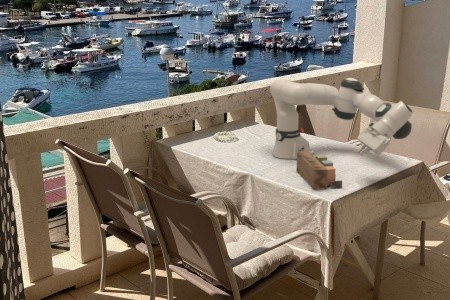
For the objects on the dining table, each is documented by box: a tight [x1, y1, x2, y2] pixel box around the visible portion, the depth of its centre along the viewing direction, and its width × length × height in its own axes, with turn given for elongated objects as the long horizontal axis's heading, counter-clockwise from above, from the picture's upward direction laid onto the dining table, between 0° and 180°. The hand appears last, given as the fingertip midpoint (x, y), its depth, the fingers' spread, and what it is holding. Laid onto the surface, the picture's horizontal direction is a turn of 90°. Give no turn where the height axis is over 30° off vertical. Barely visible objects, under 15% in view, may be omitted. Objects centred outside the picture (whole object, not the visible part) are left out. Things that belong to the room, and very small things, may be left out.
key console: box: [295, 152, 343, 190], centre depth 266 cm, size 13×26×9 cm, turn 10°
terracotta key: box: [326, 165, 336, 187], centre depth 259 cm, size 4×4×8 cm
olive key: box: [314, 154, 328, 163], centre depth 275 cm, size 4×4×8 cm
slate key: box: [321, 159, 334, 167], centre depth 267 cm, size 4×4×8 cm
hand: (359, 154), depth 258 cm, fingers closed
